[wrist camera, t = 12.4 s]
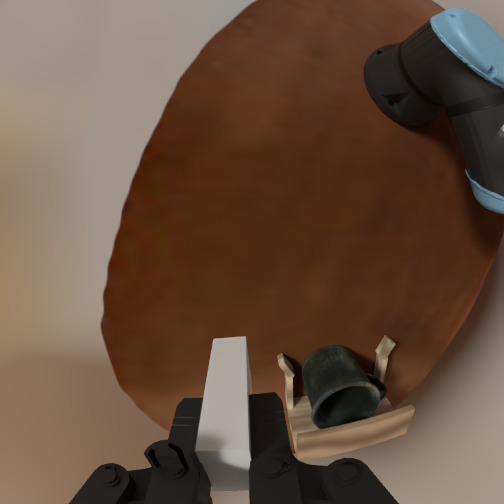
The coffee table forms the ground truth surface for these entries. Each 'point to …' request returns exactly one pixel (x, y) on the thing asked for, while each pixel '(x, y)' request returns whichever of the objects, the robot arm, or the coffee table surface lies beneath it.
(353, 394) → the mug
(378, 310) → the coffee table surface
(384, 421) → the wooden u-frame
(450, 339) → the coffee table surface
